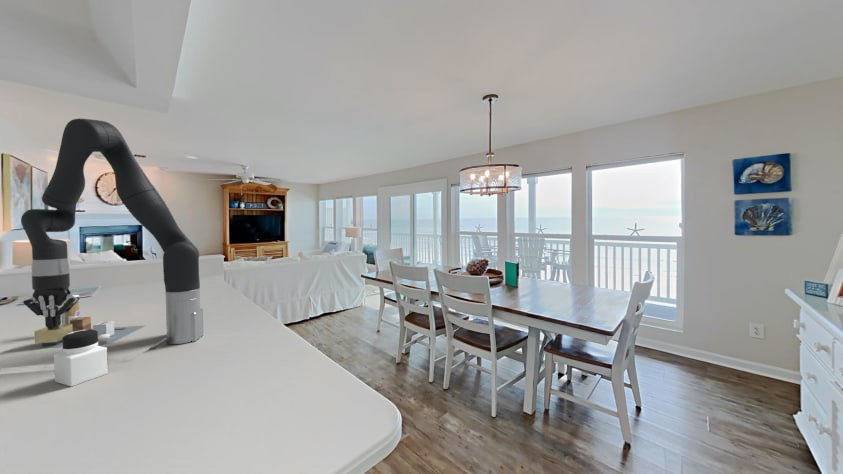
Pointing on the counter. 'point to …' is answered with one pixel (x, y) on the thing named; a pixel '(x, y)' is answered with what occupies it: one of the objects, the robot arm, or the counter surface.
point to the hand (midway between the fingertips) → (53, 327)
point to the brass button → (52, 333)
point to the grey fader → (104, 328)
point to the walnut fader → (81, 323)
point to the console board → (112, 338)
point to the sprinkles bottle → (71, 313)
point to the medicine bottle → (80, 358)
